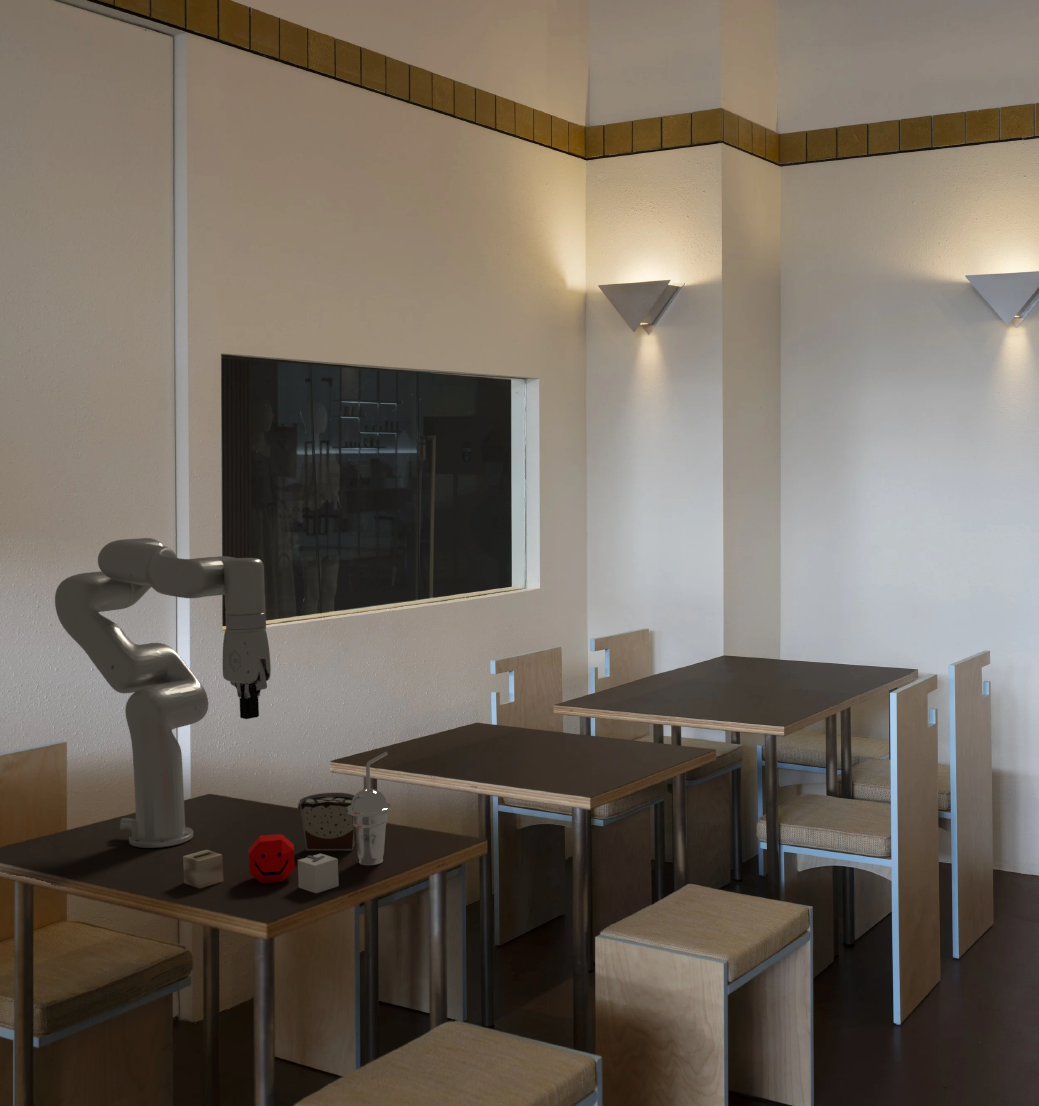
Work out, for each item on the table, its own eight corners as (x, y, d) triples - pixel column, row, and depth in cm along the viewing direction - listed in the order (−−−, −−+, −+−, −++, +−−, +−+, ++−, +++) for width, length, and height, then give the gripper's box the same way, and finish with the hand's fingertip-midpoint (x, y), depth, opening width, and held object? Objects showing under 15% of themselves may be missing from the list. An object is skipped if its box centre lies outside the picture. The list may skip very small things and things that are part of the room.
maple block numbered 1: (184, 883, 221) (182, 855, 220) (208, 876, 224) (207, 848, 224) (199, 889, 217) (197, 860, 217) (223, 881, 221) (222, 853, 221)
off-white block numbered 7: (298, 887, 216) (296, 859, 216) (320, 880, 220) (319, 852, 220) (315, 893, 213) (314, 864, 213) (338, 886, 216) (337, 857, 216)
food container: (367, 841, 243) (366, 791, 243) (360, 850, 237) (358, 799, 237) (307, 841, 245) (305, 791, 244) (298, 850, 239) (296, 799, 238)
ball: (249, 888, 217) (247, 846, 216) (250, 874, 224) (248, 833, 224) (295, 884, 218) (293, 842, 218) (294, 870, 226) (292, 829, 226)
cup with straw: (342, 859, 232) (338, 755, 231) (387, 851, 236) (383, 749, 235) (356, 871, 224) (352, 764, 223) (402, 863, 228) (399, 757, 227)
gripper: (207, 622, 236) (211, 716, 237) (251, 627, 225) (255, 725, 226) (240, 618, 241) (244, 710, 242) (285, 623, 231) (288, 719, 232)
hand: (249, 717), depth 234 cm, fingers closed
